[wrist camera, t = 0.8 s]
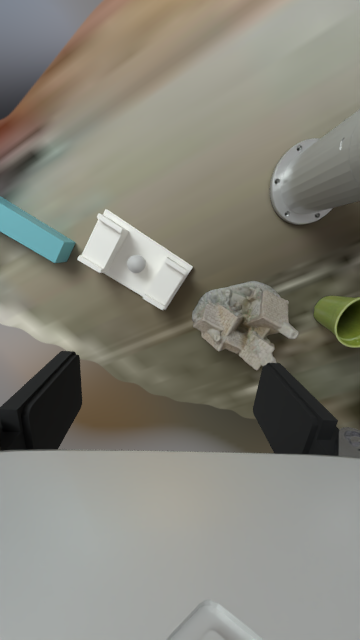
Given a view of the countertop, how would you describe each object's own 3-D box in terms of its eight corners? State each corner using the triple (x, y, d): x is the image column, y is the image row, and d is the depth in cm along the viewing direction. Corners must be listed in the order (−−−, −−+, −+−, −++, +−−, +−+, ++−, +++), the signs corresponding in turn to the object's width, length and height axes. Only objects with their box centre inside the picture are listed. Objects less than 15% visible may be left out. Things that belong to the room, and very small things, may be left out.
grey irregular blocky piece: (290, 303, 43) (340, 329, 29) (236, 358, 48) (255, 403, 34) (235, 255, 41) (259, 257, 27) (182, 317, 45) (179, 347, 31)
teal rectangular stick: (-7, 191, 36) (-31, 184, 31) (76, 242, 39) (64, 242, 34) (-14, 213, 37) (-39, 209, 32) (67, 261, 40) (54, 263, 35)
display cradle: (107, 209, 37) (95, 202, 31) (192, 266, 40) (195, 269, 35) (83, 259, 39) (68, 261, 34) (165, 308, 43) (164, 317, 37)
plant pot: (330, 277, 42) (368, 284, 34) (358, 305, 44) (401, 318, 36) (296, 313, 44) (324, 327, 36) (324, 337, 46) (357, 357, 38)
